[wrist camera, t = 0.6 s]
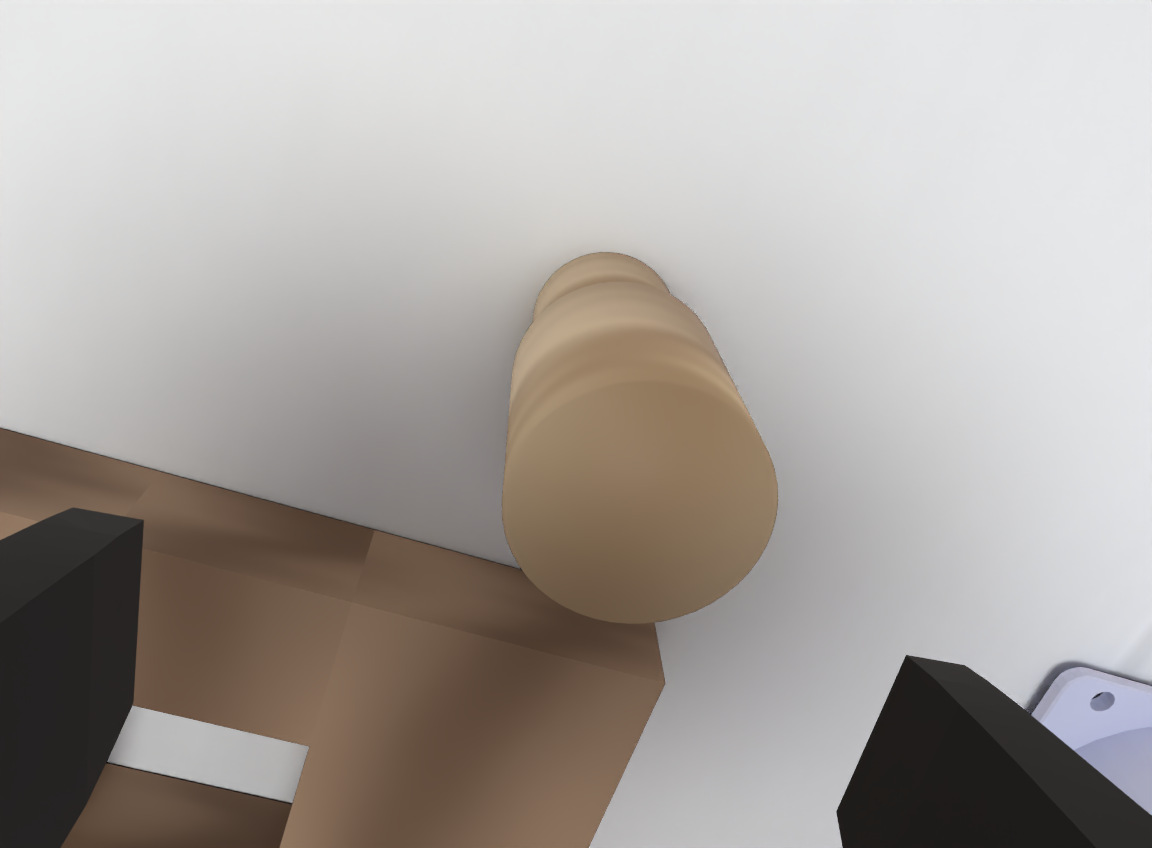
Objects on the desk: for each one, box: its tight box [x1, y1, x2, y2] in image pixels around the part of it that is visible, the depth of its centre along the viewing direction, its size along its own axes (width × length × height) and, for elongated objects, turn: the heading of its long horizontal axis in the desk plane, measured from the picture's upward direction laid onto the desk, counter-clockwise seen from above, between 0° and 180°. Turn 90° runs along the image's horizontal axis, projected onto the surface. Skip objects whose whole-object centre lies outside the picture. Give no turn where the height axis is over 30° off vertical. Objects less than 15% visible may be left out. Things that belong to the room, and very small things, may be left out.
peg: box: [502, 252, 778, 624], centre depth 14 cm, size 3×3×7 cm
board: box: [0, 428, 665, 848], centre depth 20 cm, size 18×15×2 cm
